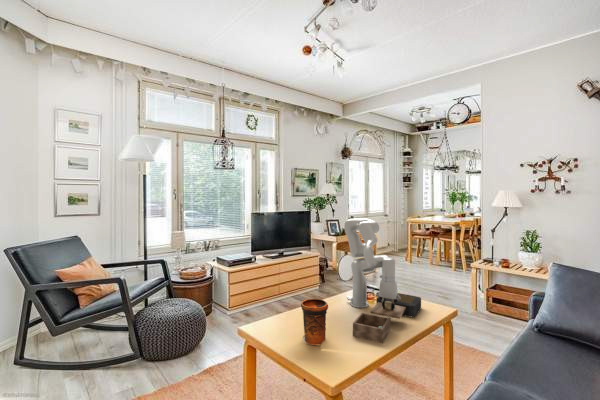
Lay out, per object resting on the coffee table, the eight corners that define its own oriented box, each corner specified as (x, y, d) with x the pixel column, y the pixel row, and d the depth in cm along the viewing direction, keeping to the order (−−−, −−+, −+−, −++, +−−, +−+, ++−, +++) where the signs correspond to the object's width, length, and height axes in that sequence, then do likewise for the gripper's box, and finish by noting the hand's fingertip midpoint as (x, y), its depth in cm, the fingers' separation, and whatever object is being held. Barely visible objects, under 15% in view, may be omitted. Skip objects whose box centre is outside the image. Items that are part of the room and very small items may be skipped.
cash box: (375, 310, 203) (375, 298, 203) (385, 300, 220) (385, 290, 220) (414, 318, 190) (414, 306, 189) (421, 308, 206) (421, 296, 206)
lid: (370, 313, 180) (370, 304, 180) (377, 304, 195) (377, 295, 195) (400, 318, 172) (400, 309, 172) (405, 308, 187) (405, 300, 187)
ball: (377, 332, 168) (377, 326, 168) (378, 330, 171) (378, 324, 171) (383, 333, 167) (383, 328, 167) (384, 331, 169) (384, 325, 169)
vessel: (298, 345, 155) (299, 306, 155) (302, 333, 170) (302, 297, 170) (327, 348, 153) (327, 308, 153) (328, 335, 168) (328, 299, 168)
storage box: (352, 337, 164) (352, 323, 164) (362, 326, 178) (362, 312, 178) (382, 345, 156) (382, 329, 156) (389, 332, 170) (390, 318, 170)
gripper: (372, 278, 184) (372, 308, 184) (401, 282, 176) (401, 313, 176) (376, 275, 190) (376, 304, 191) (404, 278, 182) (404, 309, 183)
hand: (388, 308), depth 183 cm, fingers closed on lid, 4 cm apart
